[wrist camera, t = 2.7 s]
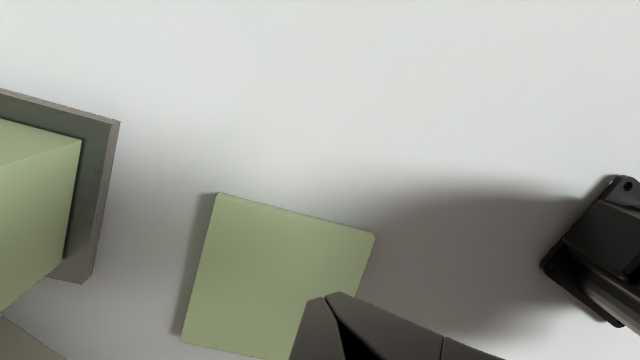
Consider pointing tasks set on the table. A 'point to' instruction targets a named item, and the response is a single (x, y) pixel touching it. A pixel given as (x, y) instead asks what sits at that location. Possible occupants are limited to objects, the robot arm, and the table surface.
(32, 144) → the sage key
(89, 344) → the table surface
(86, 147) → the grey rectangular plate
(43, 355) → the grey tray
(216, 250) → the tile
